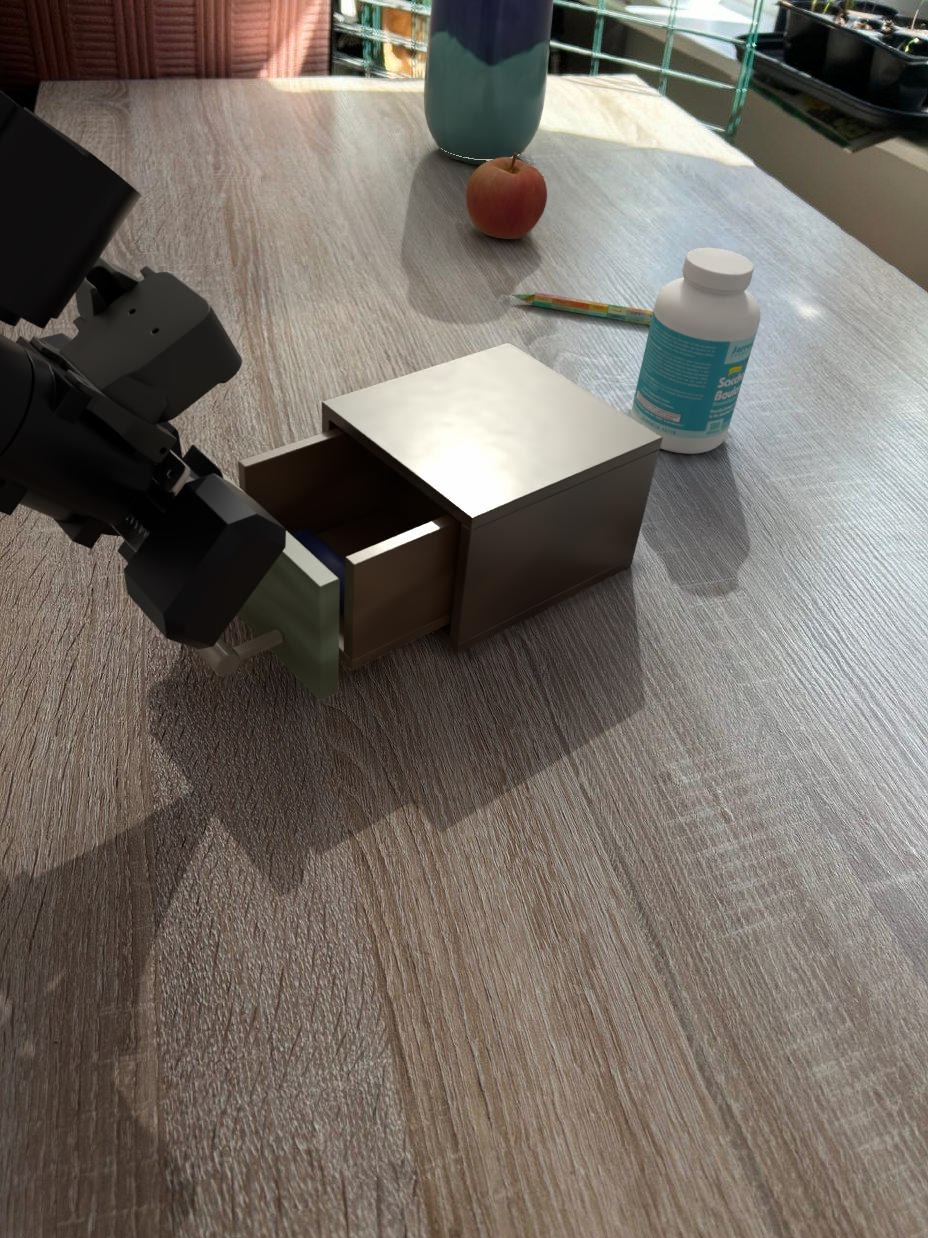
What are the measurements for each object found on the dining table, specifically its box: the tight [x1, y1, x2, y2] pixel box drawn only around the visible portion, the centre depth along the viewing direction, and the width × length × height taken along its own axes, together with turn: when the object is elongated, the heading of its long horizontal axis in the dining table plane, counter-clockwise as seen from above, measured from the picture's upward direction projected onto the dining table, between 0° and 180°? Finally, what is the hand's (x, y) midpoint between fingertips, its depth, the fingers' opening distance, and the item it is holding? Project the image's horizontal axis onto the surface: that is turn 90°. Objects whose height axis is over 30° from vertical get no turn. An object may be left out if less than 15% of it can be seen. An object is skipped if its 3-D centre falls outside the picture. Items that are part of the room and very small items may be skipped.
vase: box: [423, 0, 554, 166], centre depth 116 cm, size 14×14×31 cm
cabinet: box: [321, 342, 663, 655], centre depth 65 cm, size 15×14×10 cm
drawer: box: [193, 427, 462, 702], centre depth 59 cm, size 18×12×8 cm
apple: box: [465, 152, 548, 240], centre depth 105 cm, size 8×8×8 cm
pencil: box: [511, 291, 653, 326], centre depth 95 cm, size 1×1×18 cm
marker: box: [291, 530, 345, 613], centre depth 60 cm, size 8×2×2 cm
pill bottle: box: [630, 247, 761, 455], centre depth 77 cm, size 8×7×14 cm
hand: (246, 539), depth 54 cm, fingers closed, pressing on drawer
